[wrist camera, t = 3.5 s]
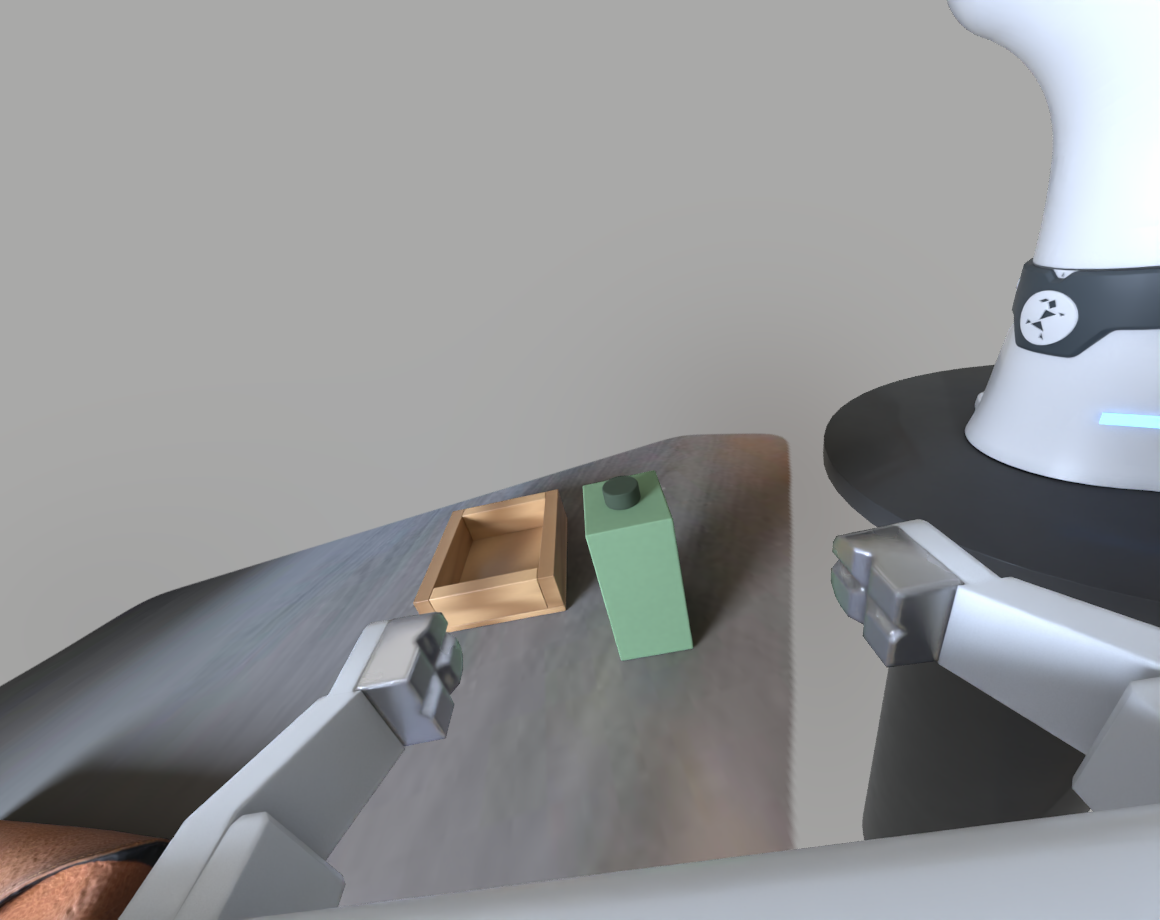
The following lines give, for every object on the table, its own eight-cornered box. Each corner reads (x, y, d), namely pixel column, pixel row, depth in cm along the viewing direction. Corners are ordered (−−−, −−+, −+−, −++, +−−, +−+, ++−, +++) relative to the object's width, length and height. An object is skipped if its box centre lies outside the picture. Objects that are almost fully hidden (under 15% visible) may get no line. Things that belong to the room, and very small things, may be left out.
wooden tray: (567, 518, 40) (558, 488, 39) (566, 610, 30) (553, 575, 29) (465, 539, 41) (452, 511, 40) (431, 635, 31) (412, 603, 30)
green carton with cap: (675, 588, 30) (652, 455, 25) (693, 649, 25) (670, 501, 20) (613, 599, 30) (578, 471, 25) (621, 661, 26) (580, 520, 21)
